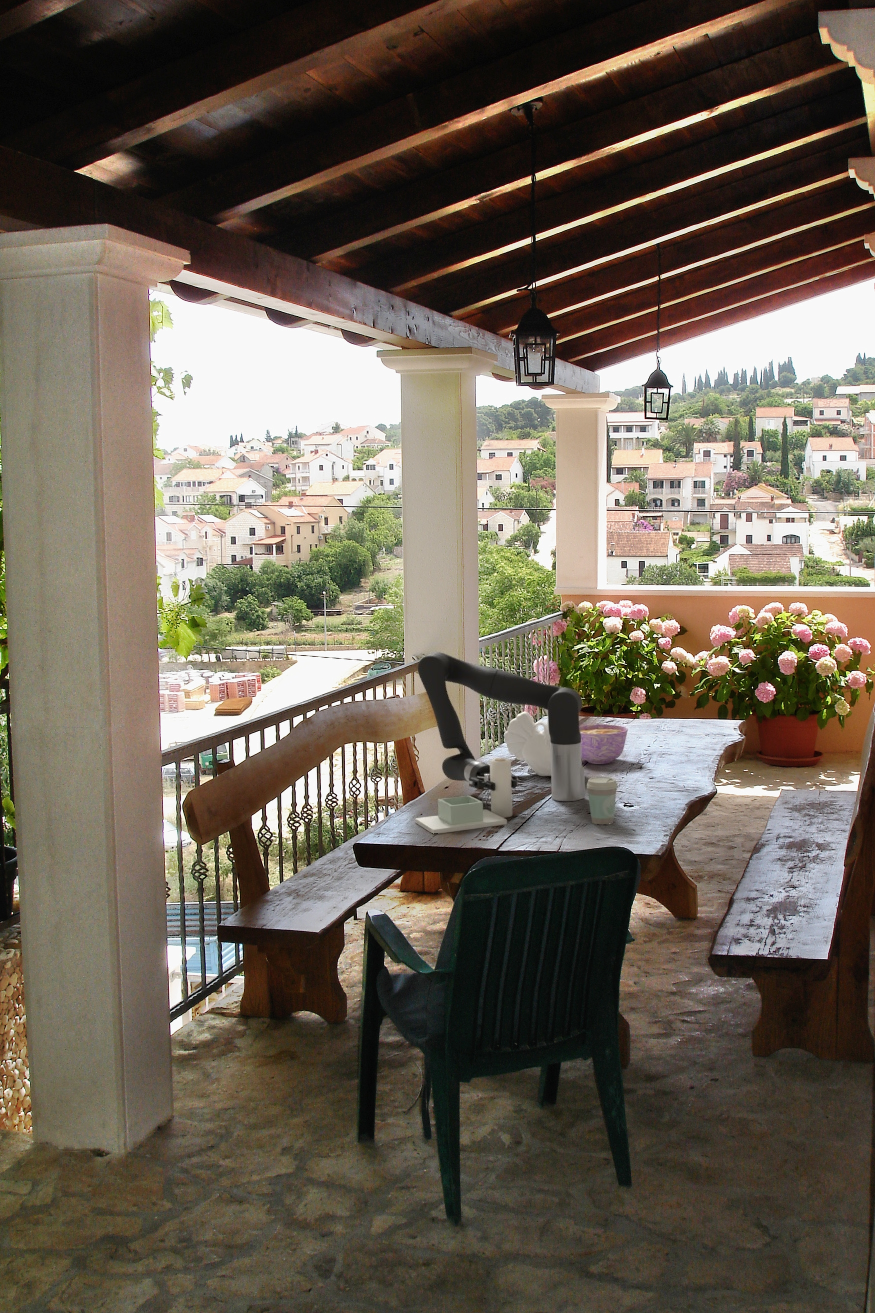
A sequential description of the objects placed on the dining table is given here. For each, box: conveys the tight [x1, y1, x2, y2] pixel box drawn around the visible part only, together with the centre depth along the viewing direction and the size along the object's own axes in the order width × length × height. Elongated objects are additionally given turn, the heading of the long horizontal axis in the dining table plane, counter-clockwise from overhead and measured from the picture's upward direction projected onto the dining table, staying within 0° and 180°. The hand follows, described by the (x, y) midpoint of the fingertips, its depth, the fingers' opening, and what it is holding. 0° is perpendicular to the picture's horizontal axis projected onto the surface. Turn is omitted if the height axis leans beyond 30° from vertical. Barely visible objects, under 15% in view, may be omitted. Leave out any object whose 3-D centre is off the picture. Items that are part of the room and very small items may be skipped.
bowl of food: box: [579, 724, 629, 765], centre depth 390 cm, size 20×20×12 cm
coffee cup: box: [585, 776, 618, 825], centre depth 308 cm, size 8×8×12 cm
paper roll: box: [489, 757, 513, 819], centre depth 319 cm, size 6×6×16 cm
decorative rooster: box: [503, 709, 551, 777], centre depth 373 cm, size 25×16×25 cm, turn 59°
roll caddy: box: [414, 795, 508, 835], centre depth 312 cm, size 22×14×6 cm, turn 112°
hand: (504, 785), depth 317 cm, fingers closed on paper roll, 6 cm apart
